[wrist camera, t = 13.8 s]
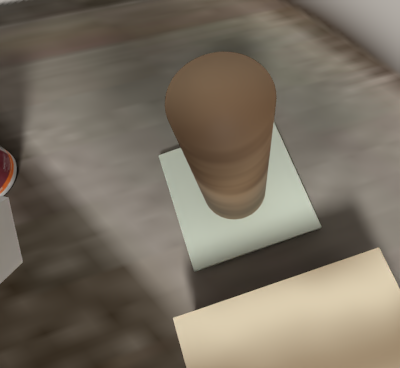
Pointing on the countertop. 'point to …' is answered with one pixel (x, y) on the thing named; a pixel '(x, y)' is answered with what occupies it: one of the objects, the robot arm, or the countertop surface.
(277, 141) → the mat
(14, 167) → the pill bottle
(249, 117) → the walnut roller
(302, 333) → the birch slab
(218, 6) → the countertop surface
